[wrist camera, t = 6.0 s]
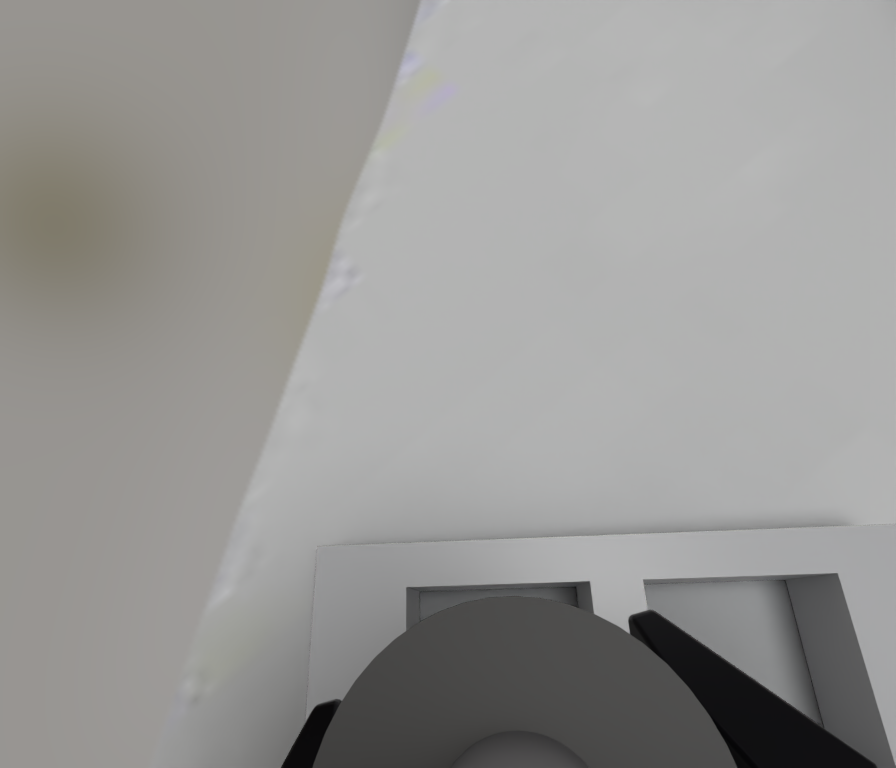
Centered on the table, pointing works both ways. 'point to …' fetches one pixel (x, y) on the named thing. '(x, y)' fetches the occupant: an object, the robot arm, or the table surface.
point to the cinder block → (638, 600)
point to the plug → (520, 697)
